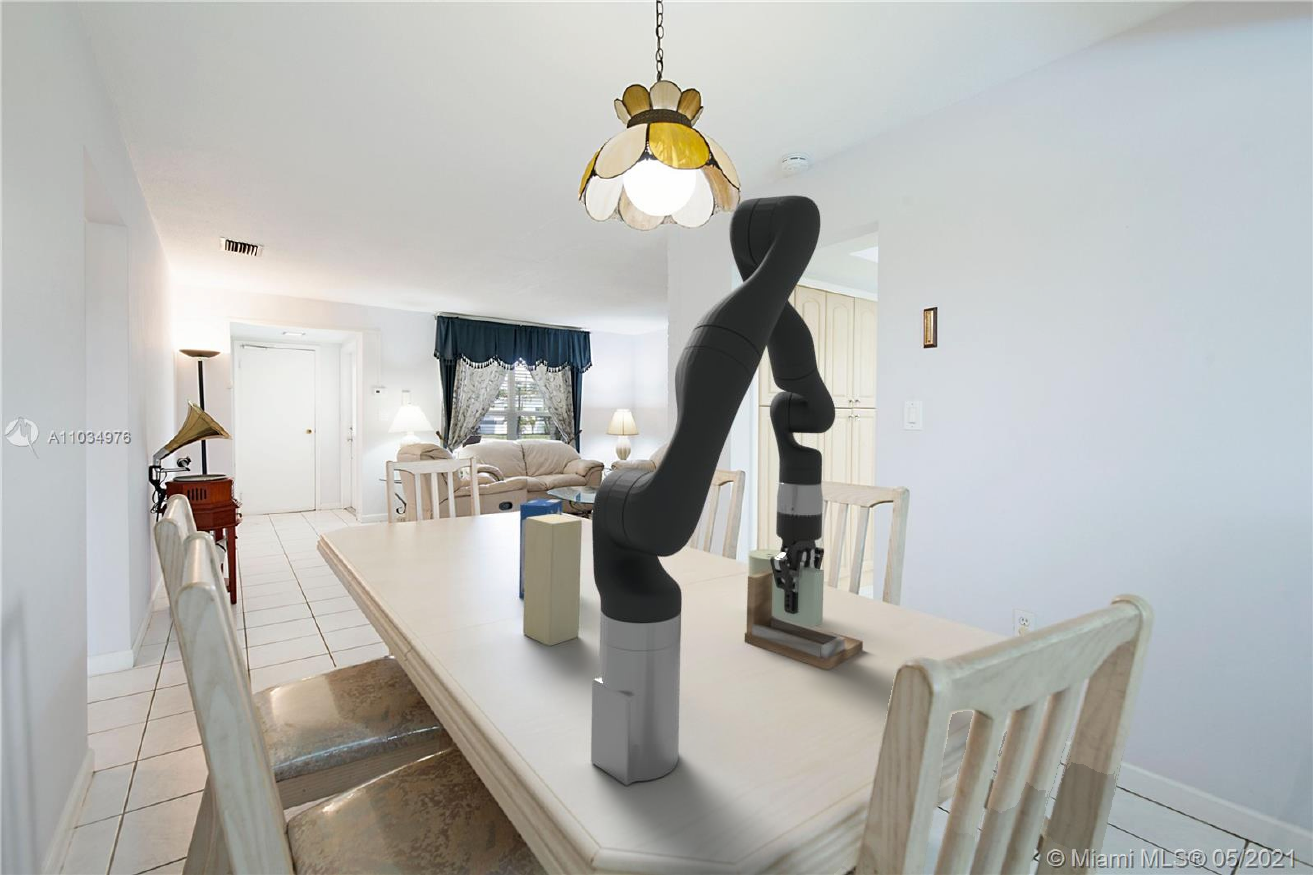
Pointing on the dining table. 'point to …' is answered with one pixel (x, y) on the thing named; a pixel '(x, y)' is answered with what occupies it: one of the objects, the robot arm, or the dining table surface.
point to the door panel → (802, 599)
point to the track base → (791, 630)
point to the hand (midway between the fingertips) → (796, 609)
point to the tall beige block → (552, 578)
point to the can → (761, 560)
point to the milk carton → (526, 510)
